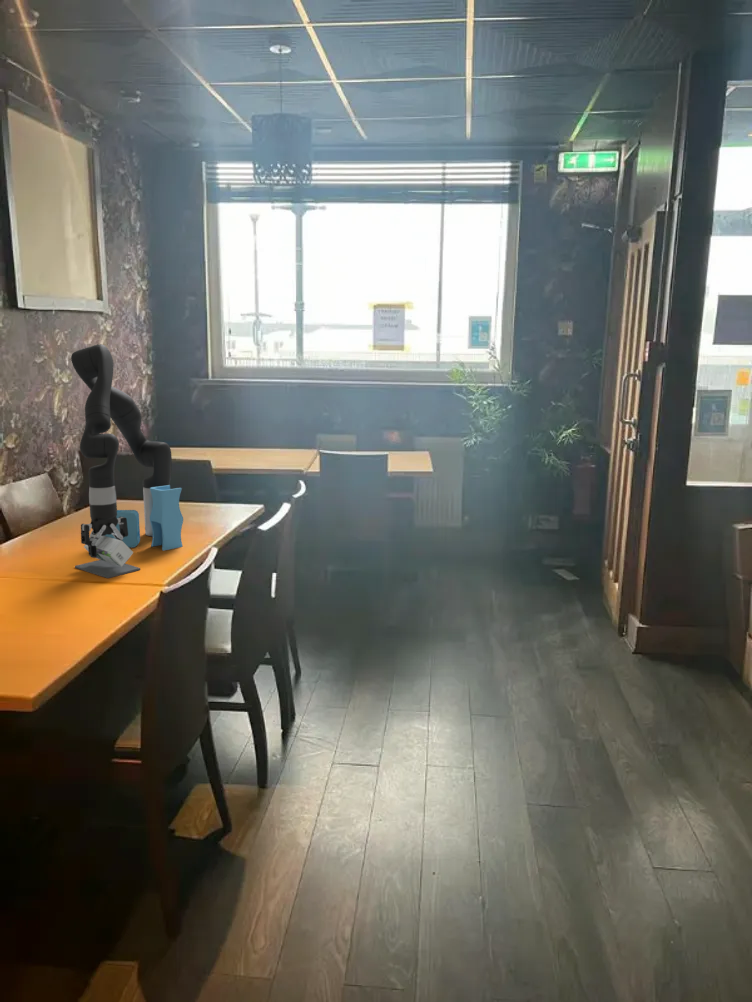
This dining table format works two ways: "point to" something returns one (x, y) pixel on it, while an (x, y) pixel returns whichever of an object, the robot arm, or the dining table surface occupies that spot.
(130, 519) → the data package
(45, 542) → the dining table surface
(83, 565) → the mat
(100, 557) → the syrup box
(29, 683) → the dining table surface
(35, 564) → the dining table surface
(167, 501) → the blue wavy stand
